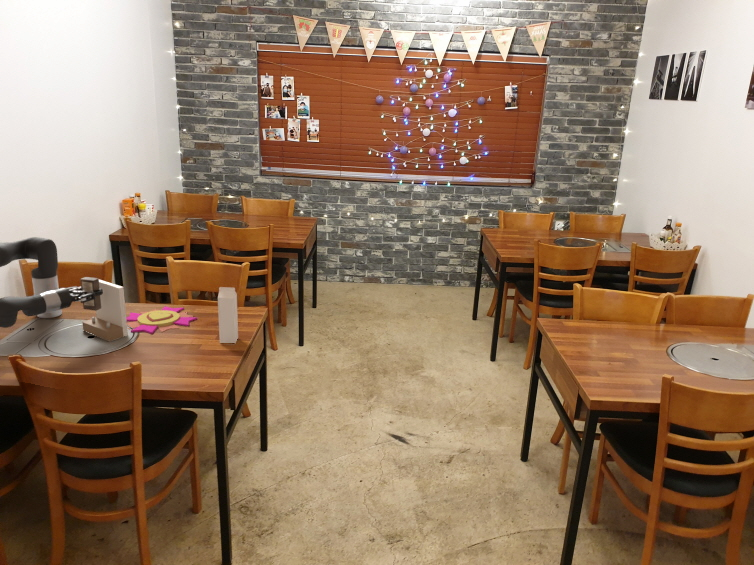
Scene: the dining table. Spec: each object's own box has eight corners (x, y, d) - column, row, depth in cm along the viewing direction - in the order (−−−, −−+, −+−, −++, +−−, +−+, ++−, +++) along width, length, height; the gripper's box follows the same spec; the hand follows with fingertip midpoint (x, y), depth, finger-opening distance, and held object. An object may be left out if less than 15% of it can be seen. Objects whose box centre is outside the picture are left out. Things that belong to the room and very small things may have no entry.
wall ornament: (105, 325, 233) (142, 301, 262) (105, 331, 234) (142, 306, 262) (177, 331, 230) (206, 306, 259) (177, 337, 231) (206, 311, 260)
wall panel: (83, 331, 232) (77, 283, 226) (101, 325, 238) (96, 278, 233) (109, 341, 223) (104, 292, 217) (128, 335, 230) (123, 287, 224)
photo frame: (83, 309, 223) (80, 279, 219) (88, 306, 226) (85, 276, 222) (95, 310, 222) (93, 280, 218) (101, 308, 225) (98, 278, 221)
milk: (235, 344, 226) (233, 290, 219) (219, 343, 226) (217, 289, 219) (238, 338, 232) (236, 285, 225) (223, 337, 231) (220, 284, 225)
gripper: (43, 306, 215) (86, 295, 229) (66, 314, 208) (109, 302, 221) (41, 286, 213) (84, 276, 226) (64, 294, 205) (107, 284, 219)
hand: (96, 289), depth 224 cm, fingers closed on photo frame, 6 cm apart
